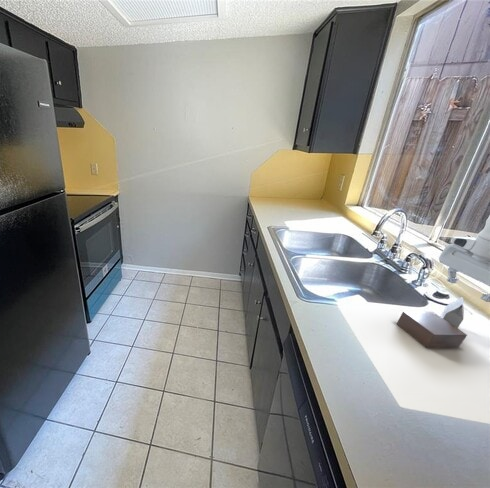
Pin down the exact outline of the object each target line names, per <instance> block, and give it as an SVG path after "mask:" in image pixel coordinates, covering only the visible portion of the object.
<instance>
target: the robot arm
mask: <svg viewBox="0 0 490 488" xmlns="http://www.w3.org/2000/svg"><path fill="white" fill-rule="evenodd" d="M438 261H439V263H440V264H442V265H444V266H446V267H448V269H447V278H446V282H449V283H451V284H457V283H458V281H459V278H458V277H457V273H461V274H463V275H465V276H468V277H470V278H471V279H473V280H475V281H478V282H479V283H481V284H483V285H486V286H488V287H490V215H488V218H487V219H486V220H485V224H484V227H483V228H482V230H480V231H479V232H478V233H477V235H476V236H475V237H473V236H470V237H469V236H453V237H452V238H451V240H450V243H449V244H447V245H446V246H445V247H444V249H443V250H442V252H441V253H440V254H439V256H438ZM480 300H482V301H484V302H486V303H490V293H483V294H482V295H481V296H480Z"/></svg>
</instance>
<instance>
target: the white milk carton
mask: <svg viewBox="0 0 490 488" xmlns="http://www.w3.org/2000/svg"><path fill="white" fill-rule="evenodd" d="M464 313H465V308H464V297H462V296H461V297H460V298H458V299H457V300H454V301H452V302H450V303H448V304H447V305H446V306H445V308H444V310H443V312H442V313H441V314H440V315H439V316H440V317H441V318H443V319H444V320H446V321H447V322H449V323H450V324H452V325H453V326H455V327H456V328H458V329H459V327H460V325H461V324H462V323H463V321H464V318H465V317H464V316H465V314H464Z"/></svg>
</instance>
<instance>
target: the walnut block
mask: <svg viewBox="0 0 490 488" xmlns="http://www.w3.org/2000/svg"><path fill="white" fill-rule="evenodd" d="M440 316H441V315H438V314H437V313H435V312H434V311H402V313H401V315H400V317H399V319H398V320H397V322H396V325H398V326H399V327H400V328H401V329H403V331H405V332H406V333H407V334H408V335H410V336H411V337H412V338H414V339H415V340H416V341H417V342H418V343H420V345H422V346H423V347H424V348H428V349H459V347H460V346H461V345H462V344H463V342H464V340H466V338H467V336H468V334H467V333H465V332H464V331H462V330H461V329H459V327H458V328H456V327H455V326H453V325H452V324H450V323H449V322H447V321H446V320H444V319H443V318H441V317H440Z"/></svg>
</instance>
